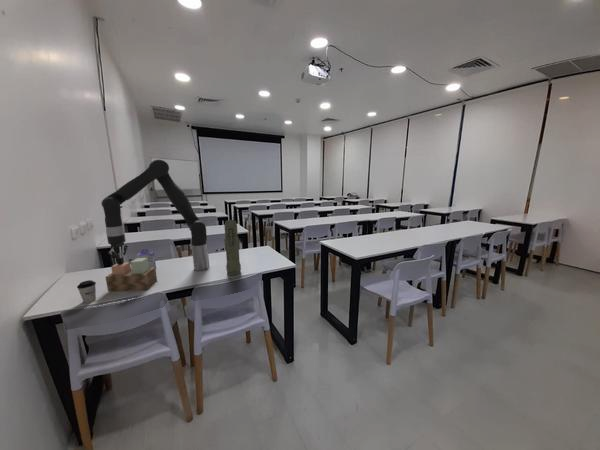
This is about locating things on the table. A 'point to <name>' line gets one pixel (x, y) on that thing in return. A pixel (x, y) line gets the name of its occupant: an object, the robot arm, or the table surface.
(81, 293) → the coffee cup
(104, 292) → the table surface
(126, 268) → the plunger
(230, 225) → the green carved pillar
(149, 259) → the ink cartridge box
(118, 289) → the housing
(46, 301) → the table surface
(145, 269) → the plunger
